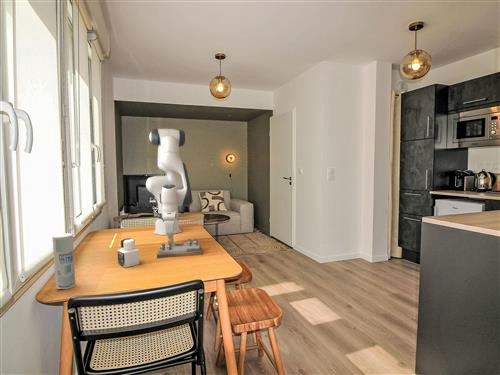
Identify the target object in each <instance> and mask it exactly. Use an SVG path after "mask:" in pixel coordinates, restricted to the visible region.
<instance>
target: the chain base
mask: <svg viewBox="0 0 500 375" xmlns="http://www.w3.org/2000/svg"><path fill="white" fill-rule="evenodd" d="M159 250H160V248H159V249H158V250H157V252H156V259H163V258H174V257H175V258H176V257H188V256H189V257H190V256H201V255H202V254H203V253H202V246H201V245H199V251H191V252H177V253H163V254H159Z"/></svg>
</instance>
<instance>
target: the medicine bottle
mask: <svg viewBox="0 0 500 375" xmlns="http://www.w3.org/2000/svg"><path fill="white" fill-rule="evenodd" d="M135 240H136V239H135V238H131V237H129V238H123V239H122V240H121V241H120V248H119V249H117V265H119V266H120V267H122V268H124V269H126V268H130V267H134V266H137V265H140V249H138V248H136V241H135Z"/></svg>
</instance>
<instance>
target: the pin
mask: <svg viewBox="0 0 500 375" xmlns="http://www.w3.org/2000/svg"><path fill="white" fill-rule="evenodd" d="M174 240H175V239H174V234H172V241H169V238H168V237H167V244H168V243H171V244H172V246H173V243H175V241H174Z"/></svg>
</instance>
